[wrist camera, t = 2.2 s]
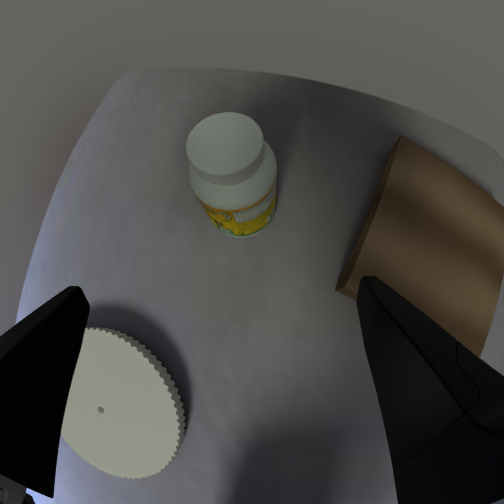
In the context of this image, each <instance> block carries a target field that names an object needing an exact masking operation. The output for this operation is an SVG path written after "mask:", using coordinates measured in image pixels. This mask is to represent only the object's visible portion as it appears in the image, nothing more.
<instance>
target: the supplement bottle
mask: <svg viewBox="0 0 504 504" xmlns="http://www.w3.org/2000/svg"><path fill="white" fill-rule="evenodd" d="M186 151H187V155H188V158H189V164H188V180H189V183H190V186H191V189H192V191H193V192H194V194H195V195H196V197H197V198H198V200H199V201H200V203H201V205H202V206H203V208H204V210H205V211H206V213H207V214H208V216H209V217H210V219H211V220H212V222H213V223H214V225H215V226H216V227H217V228H218V229H219V230H220V231H222V232H224V233H225V234H228V235H230V236H233V237H238V238H246V237H251V236H254V235H256V234H258V233H260V232H261V231H263V230H264V229H265V228H266V227H267V226H268V225H269V224H270V222H271V221H272V219H273V216H274V214H275V209H276V188H277V163H276V158H275V155H274V153H273V151H272V149H271V148H270V146H269V145H268V144H267V143H266V142H265V141H264V138H263V133H262V131H261V128H260V127H259V125H258V124H257V123H256V122H255V121H254V120H253V119H251V118H250V117H248V116H246V115H244V114H240V113H235V112H223V113H218V114H214V115H211V116H209V117H207V118H205V119H203V120H202V121H200V122H199V123H198V124H197V125H196V126H195V127H194V128H193V129H192V131H191V132H190V134H189V136H188V139H187V143H186Z"/></svg>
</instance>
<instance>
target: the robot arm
mask: <svg viewBox="0 0 504 504" xmlns="http://www.w3.org/2000/svg"><path fill="white" fill-rule="evenodd" d="M357 309H358V314H359V319H360V324H361V330H362V336H363V342H364V347H365V351H366V355H367V359H368V362H369V366H370V369H371V373H372V377H373V381H374V384H375V388H376V392H377V396H378V400H379V405H380V409H381V413H382V417H383V422H384V426H385V431H386V436H387V440H388V445H389V451H390V456H391V461H392V467H393V469H394V470H393V473H394V480H395V486H396V493H397V500H398V504H504V376H503V375H502V374H500V373H499V372H497V371H496V370H495V369H493V368H492V367H491V366H489V365H488V364H487V363H485V362H484V361H483V360H481V359H480V358H479V357H478V356H476V355H475V354H474V353H473V352H471V351H470V350H469V349H468V348H467V347H465V346H464V345H463V344H462V343H461V342H459V341H457V340H456V338H454V337H453V336H452V335H451V334H450V333H448V332H447V331H446V330H445V329H444V328H442V327H441V326H440V325H439V324H437V323H436V322H435V321H434V320H432V319H431V318H430V317H429V316H427V315H426V314H425V313H424V312H422V311H421V310H420V309H419V308H417V307H416V306H415V305H413V304H412V303H411V302H410V301H408V300H407V299H406V298H404V297H403V296H402V295H400V294H399V293H398V292H396V291H395V290H394V289H393V288H391V287H390V286H389V285H387V284H386V283H385V282H383V281H382V280H380V279H379V278H378V277H376V276H374V275H371V276H363V277H362V278H361V280H360V284H359V289H358V294H357ZM89 311H90V306H89V303H88V301H87V299H86V297H85V295H84V293H83V291H82V289H81V288H80V287H79V286H69V287H67V288H66V289H64V290H63V291H61V292H60V293H59V294H57V295H56V296H54V297H53V298H51V299H50V300H49V301H47V302H46V303H44V304H43V305H42V306H40V307H39V308H37V309H36V310H35V311H33V312H32V313H31V314H29V315H28V316H27V317H25V318H24V319H22V320H21V321H20V322H19V323H17V324H16V325H15V326H14V327H12V328H11V329H9V330H8V331H7V332H5V333H4V334H3V335H2V336H0V504H35V502H34V500H33V498H32V496H31V495H29V494H27V493H26V489H27V488H29V489H31V490H33V491H36V492H38V493H40V494H43V495H45V496H47V497H50V498H53V496H54V484H55V473H56V464H57V456H58V448H59V441H60V435H61V430H62V424H63V419H64V414H65V409H66V405H67V400H68V396H69V391H70V387H71V383H72V379H73V376H74V372H75V368H76V365H77V361H78V358H79V354H80V351H81V347H82V342H83V338H84V333H85V328H86V324H87V320H88V316H89Z"/></svg>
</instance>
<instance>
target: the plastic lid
mask: <svg viewBox="0 0 504 504" xmlns="http://www.w3.org/2000/svg"><path fill="white" fill-rule="evenodd" d="M156 358H157V357H156V356H155V355H152V354H151V351H150V350H149V349H148V350H147V349H145V346H144V345H140V344H139V341H138V340H135V341H134V340H133V337H131V336H130V337H127V334H125V333H122V334H121V332H120V331H115V330H114V329H109V328H102V327H94V328H85V333H84V338H83V342H82V347H81V351H80V354H79V358H78V361H77V365H76V368H75V372H74V376H73V379H72V383H71V387H70V391H69V396H68V400H67V405H66V409H65V414H64V419H63V424H62V430H61V436H63V437H64V440H65V441H67V442H68V445H69V446H71V447H72V449H73V450H74V451H76V452H77V454H78V455H79V456H81V457H82V459H83V460H86V461H87V463H89V464H92V466H93V467H97V468H98V469H99V470H103V471H104V472H105V473H109V474H110V475H115V476H116V477H118V476H120V477H121V478H124V477H126V478H127V479H130V478H133V479H136V478H138V479H141V478H142V477H143V478H146V477H147V476H149V477H151V476H152V475H153V474H154V475H156V474H157V473H158V472H161V471H162V469H165V468H166V466H168V465H169V464H170V462H171V461H172V460H173V458H174V457H175V455H176V454H177V453H178V451H179V449H180V446H181V444H182V442H183V441H182V440H183V438H184V435H183V434H184V433H185V429H184V427H185V425H186V423H184V420H185V416H183V413H184V412H185V411H184V409H182V406H183V402H180V399H181V396H180V395H178V393H177V392H178V389H177V388H175V386H174V384H175V382H174V381H172V380H171V379H170V378H171V375H170V374H167V372H166V371H167V369H166V368H165V367H162V363H161V361H158V360H157V359H156Z"/></svg>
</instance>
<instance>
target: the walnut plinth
mask: <svg viewBox="0 0 504 504" xmlns="http://www.w3.org/2000/svg"><path fill="white" fill-rule="evenodd" d="M503 274H504V207H503V206H502V205H501V204H500V203H498V202H497V201H496V200H495V199H494V198H492V197H491V196H490V195H489V194H488V193H486V192H485V191H484V190H483V189H481V188H480V187H479V186H477V185H476V184H475V183H473V182H472V181H471V180H469V179H468V178H467V177H465V176H464V175H463V174H461V173H460V172H458V171H457V170H456V169H454V168H453V167H451V166H450V165H448V164H447V163H445V162H444V161H442V160H441V159H439V158H438V157H436V156H435V155H433V154H432V153H430V152H428V151H427V150H425V149H424V148H422V147H420V146H419V145H417V144H415V143H414V142H412V141H410V140H408V139H407V138H405V137H403V136H400V137H399V139H398V140H397V142H396V143H395V145H394V146H393V148H392V149H391V151H390V152H389V155H388V158H387V161H386V164H385V167H384V170H383V173H382V176H381V179H380V182H379V185H378V188H377V190H376V193H375V196H374V199H373V201H372V204H371V207H370V209H369V212H368V214H367V217H366V219H365V222H364V225H363V227H362V230H361V232H360V234H359V237H358V239H357V242H356V244H355V247H354V249H353V251H352V254H351V256H350V258H349V261H348V263H347V265H346V267H345V270H344V272H343V274H342V276H341V278H340V281H339V283H338V285H337V287H336V289H335V290H336V291H338V292H340V293H342V294H344V295H346V296H348V297H350V298H352V299H354V300H356V301H357V294H358V289H359V284H360V280H361V278H362V277H363V276H371V275H374V276H376V277H378V278H379V279H380V280H382V281H383V282H385V283H386V284H387V285H389V286H390V287H391V288H393V289H394V290H395V291H396V292H398V293H399V294H400V295H402V296H403V297H404V298H406V299H407V300H408V301H410V302H411V303H412V304H413V305H415V306H416V307H417V308H419V309H420V310H421V311H422V312H424V313H425V314H426V315H427V316H429V317H430V318H431V319H432V320H434V321H435V322H436V323H437V324H439V325H440V326H441V327H442V328H444V329H445V330H446V331H447V332H448V333H450V334H451V335H452V336H453V337H454V338H456V340H457V341H459V342H461V343H462V344H463V345H464V346H465V347H467V348H468V349H469V350H470V351H471V352H473V353H474V354H475V355H476V356H478V357H480V355H481V352H482V350H483V347H484V344H485V341H486V338H487V335H488V332H489V329H490V326H491V322H492V319H493V316H494V312H495V308H496V305H497V301H498V297H499V292H500V288H501V283H502V279H503Z"/></svg>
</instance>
